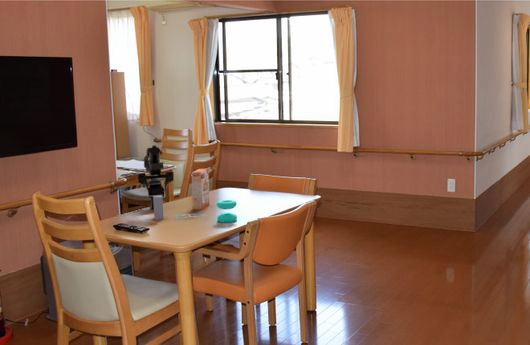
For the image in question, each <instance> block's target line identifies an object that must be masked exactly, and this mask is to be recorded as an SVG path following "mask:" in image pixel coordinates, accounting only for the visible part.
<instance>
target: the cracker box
mask: <svg viewBox="0 0 530 345" xmlns="http://www.w3.org/2000/svg"><path fill="white" fill-rule="evenodd" d="M209 178H210V177H209V169H208V168H198V169H196V170H194V171H192V172H191V191H192V192H191V194H192V196H191V197H192V210H203V209H205V208H206V207H208V206H210V189H209V188H210V185H209Z"/></svg>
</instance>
